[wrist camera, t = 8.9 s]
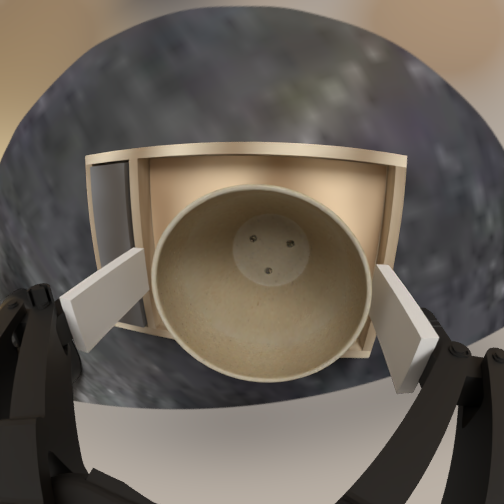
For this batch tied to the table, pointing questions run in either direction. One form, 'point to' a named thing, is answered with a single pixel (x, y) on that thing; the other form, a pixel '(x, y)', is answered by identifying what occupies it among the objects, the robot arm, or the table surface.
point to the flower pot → (261, 283)
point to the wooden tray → (231, 174)
